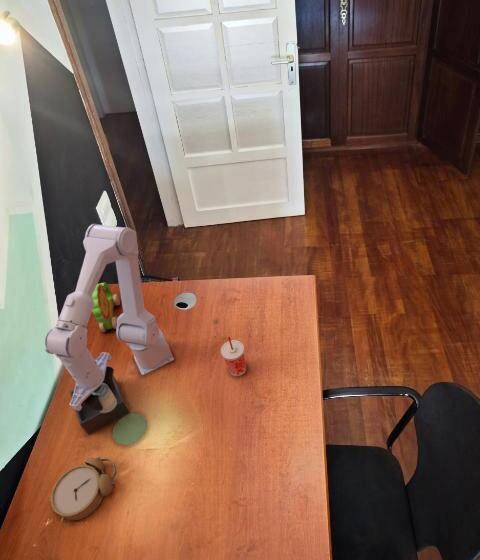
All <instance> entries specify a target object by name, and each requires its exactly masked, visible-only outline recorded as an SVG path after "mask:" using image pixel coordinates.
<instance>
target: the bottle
mask: <svg viewBox="0 0 480 560" xmlns="http://www.w3.org/2000/svg"><path fill="white" fill-rule="evenodd" d="M92 394H93V395H98V396H99V401H100V403H101V405H102V406H103V410H102V411H100V412H102V413H107V412H110V411H112V410H113V409H114V408H115V406H116V404H117V400H116V398H115V396H114V394H113V393H112V391H111V390H110V388H109V387H108V385H107V384H105V383H102V384H101V385H100V386H99V387H98V388H97V389H96V390H95V391H94V392H93V393H92Z"/></svg>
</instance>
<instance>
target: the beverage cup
mask: <svg viewBox="0 0 480 560" xmlns="http://www.w3.org/2000/svg"><path fill="white" fill-rule="evenodd" d="M227 339H228V341H226V342H224V344H222V346H221V348H220V355H221V357H222V358H223V359H224V361H225V364H226V366H227V369H228V371H229V373H230V375H231V376H233V377H241V376H243V375H245V373H246V371H247V365H246V364H247V363H246V357H245V345H244V344H243V343H242V342H241V341H239V340H237V339H232V340H231V336H228V337H227Z"/></svg>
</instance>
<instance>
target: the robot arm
mask: <svg viewBox="0 0 480 560" xmlns="http://www.w3.org/2000/svg"><path fill="white" fill-rule="evenodd" d="M84 234H85V235H84V239H83V241H82V244H83V248H84V250H85V255H84V259H83V262H82V265H81V268H80V273H79V276H78V280H77V283H76V287H75V291H73V292H71V293H69V294H68V295H67V296H66V298H65V300H64V303H63V306H62V309H61V312H60V314H59V317H58V319H57V321H56V324H55V327H53V328H51V329H50V330H49V331H48V332H47V333H46V335H45V338H44V347H45V349H44V350H45V352H46V353H47V354H50V355H55V357H56V358H58V359H59V361H60V362H61V363H62V365H63V367H64V368H65V369H66V371H67V372H68V373H69V375H70V376H71V377H72V379H73V380H74V381H75V386H74V389H73V390H74V393H73V397H71V400H70V402H69V404H68V406H70V408H71V409H72V410H74V411H76V410H78V411H80V410H81V408H82V406H81V404H82V403H84V404H86V405H88V406H90V407H92V408H93V409H94V410H98V411H102V410H103V406H102V405H101V403H100V401H99V396H98V395H93V394H92V393H93V392H94V391H95V390H96V389H97V388H98V387H99V386H100V385H101V384H102V383H105V384H107V385H108V387H109V388H110V390H111V391H112V392H113V390H114V388H113V376H114V372H115V370H114V368H113V367H112V366H108V362H111V361H112V359H113V357H112V354H111V353H109V352H105V351H102V352H101V353H100V354H99V356H98V357H97V358H94V356H93V355H92V353H91V352H90V349H89V348H88V347H87V345H88V333H89V332H88V330H89V329H88V328H87V326H88V323H89V320H90V318H91V316H92V314H93V311H92V310H93V307H94V304H95V303H94V301H93V298H92V294H93V292H94V290H95V288H96V286H97V284H99V281H100V280H101V277H102V275H103V273H104V270H105V268H106V266H107V265H109V264H112V263H115V267H116V274H117V281H118V286H119V294H120V301H121V307H122V313H121V314H120V315H118V316H117V318H118V319H117V329H115V330H116V331H115V334H116V338H117V340H118V341H119V342H124V343H125V345H127V346H128V347H129V349H130V351H131V352H132V354H133V358H134V360H135V363H136V366H137V367H138V370H139V372H140V374H141V376H146V375H148V374H149V373H151V372H153V371H155V370H157V369H159V368H161V367H162V366H165V365H167V364H169V363H171V362H173V361H174V360H175V357H174V356H173V354H172V351H171V347H170V345H169V343H168V342H167V340H166V338H165V335H164V334H163V331H162V330H161V329H160V327H159V325H158V323H157V321H156V319H157V318H156V316H155V315H154V314H153V313H151V312H149V311H148V310H147V309H146V308H145V301H144V294H143V287H142V280H141V272H140V264H139V257H138V255H139V254H140V252H139V245H138V237H137V232H136V230H134V229H132V228H130V227H128V226H125V227H122V226H114V225H104V224H98V223H92V224H90V225H89V226H88V228H87V229H86V231H85V233H84Z"/></svg>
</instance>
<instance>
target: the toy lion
mask: <svg viewBox="0 0 480 560" xmlns="http://www.w3.org/2000/svg"><path fill="white" fill-rule="evenodd" d="M92 298H93V301H94V303H95V304H94V307H93V310H92V314H93V316H94V318H95V320H96V322H97V323H98V326H99V330H100V332H101V333H105V332H107V331H108V330H112V329H114V330H116V329H117V319H118V316H114V307H115V306H116V307H117V306H120V305H121V298H120V296H119V294H118V293H114V294H113V291H112V289H111V288H110V286H109V284H108V283H107V282H101V283H97V286H96V288H95V290H94V292H93V294H92Z"/></svg>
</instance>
